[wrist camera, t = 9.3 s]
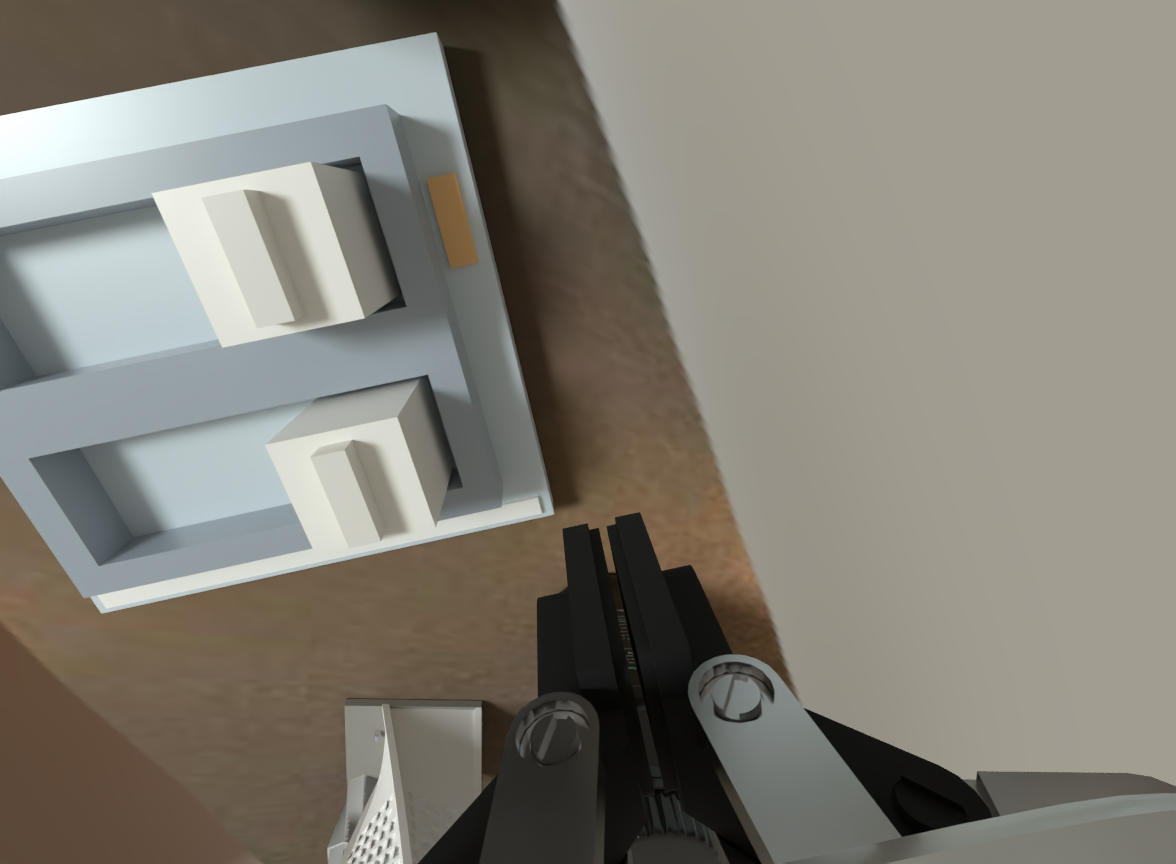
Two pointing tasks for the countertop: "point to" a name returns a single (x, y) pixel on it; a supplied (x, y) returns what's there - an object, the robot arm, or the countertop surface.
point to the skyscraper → (405, 777)
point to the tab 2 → (365, 464)
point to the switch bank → (250, 370)
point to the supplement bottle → (661, 791)
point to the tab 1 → (281, 250)
